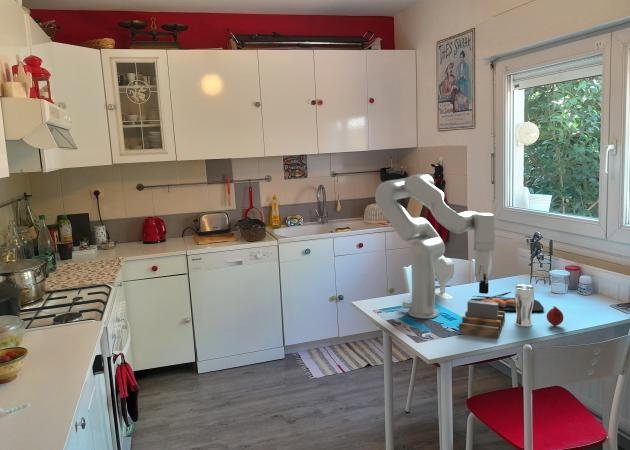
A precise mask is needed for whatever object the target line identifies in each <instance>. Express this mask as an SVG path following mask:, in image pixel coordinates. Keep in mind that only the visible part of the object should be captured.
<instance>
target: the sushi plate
mask: <svg viewBox="0 0 630 450" xmlns="http://www.w3.org/2000/svg"><path fill="white" fill-rule="evenodd" d="M510 293H512V291H509V292H503V293H501V294H496V295H493V296H484V295H475V296H476V297H475V298H471V299H469V300H475V301H485V302H495V303H498V311H515V312H516V307H515V297H504V296H505V294H506V295H508V294H510ZM501 296H503V297H501ZM483 297H484V298H483ZM544 310H545V307H544V306H543V304H541V302H540V301H538V300H537V299H534V303H533V308H532V312H542V311H544Z"/></svg>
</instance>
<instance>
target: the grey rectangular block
mask: <svg viewBox="0 0 630 450" xmlns="http://www.w3.org/2000/svg"><path fill="white" fill-rule="evenodd" d="M466 307H467V308H466V309H467V310H466V311H467V317H475V318H483V319H492V320H498V311H499V310H498V303H495V302H485V301H475V300H470V299H468V300H467V306H466Z"/></svg>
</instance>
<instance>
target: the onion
mask: <svg viewBox="0 0 630 450" xmlns="http://www.w3.org/2000/svg"><path fill="white" fill-rule="evenodd" d="M546 319H547V322H548V323H549V324H551V325H552V326H553V327H556V326H559V325H560V324H562V323H563V321H564V314H563V312H562V311H561V310H560V309H559V308H558V307H557V306H556V305H553V307H552V308H551V309H549V310H548V312H547V313H546Z"/></svg>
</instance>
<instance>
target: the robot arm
mask: <svg viewBox="0 0 630 450" xmlns="http://www.w3.org/2000/svg"><path fill="white" fill-rule="evenodd" d="M434 180H435V179H433V177H432V176H431V175H430V174H428V173H417V174H412V175H409V176H408V177H404V178H398V179H390V180H385V181H383V182H382V183H380V184H379V185H378V186H377V188H376V190H375V194H374V195H375V197H374V199H375V204H376V206H377V208H378V209H379V210H380V212H381V213H382V214H383V216H384V217H385V218H386V219H387V221H388V222H389V223H390V225H391V226H392V228H393V229H394V231H395V232H396V235H397V234H398V236H399V238H400V239H401V240H402V241H403V242H407V243H409V242H413V241H415V242H414V243H412V244H411V246H410V247H409V253H408V254H409V259H410V267H411V301H409V302H407V301H402V304H401V305H402V307H403V308H404V309H408V311H407V314H408V315H409V316H410V317H412V318H416V319H424V320H425V319H435V318H438V316H439V315H440V312H439V309H437V308H436V294H435V291H436V277H435V269H434V266H433V262H432V261H433V260H435V259H438V258H440V257H441V256H442V255H443V256H444V254H445V251H446V246H445V242H444V241H443V238H441V236H440V234H439V233H438V232H437V231H436V229H435V228H434V227H433V225H432V224H431V223H430V222H429V221H428V220H427V219H426V218H425V217H422V216H414V217H412V216H411V214H410V213H408V211H407V210H406V208H405V207H404V206H402V204H400V203H399V202H397V200H401V199H406V198H410V197H412V198H414V199H415V200H416V201H418V202H419V203H421V204H422V205H423V206H425V207H426V208H427V209H429V211H430V212H431V215H432V216H433V217H434V219H435V220H436V222H437V223H439V224H440V225H441V226H442V227H444V228H445V229H447V230H448V231H450V232H452V233H454V234H463V233H465V232H468V231H469V232H470V231H473V251H475V258H474V277H478V279H479V280H478V281H479V282H478V293H479V294H483V295H485V294H486V295H488V294H489V276H490V275H491V272H492V263H493V262H492V252H493V251H495V249H496V246H495V245H496V242H495V238H496V237H495V236H496V235H495V234H496V217H495V216H496V215H494V214H493V213H490V212H477V211H473V210H465V211H461V212H459V213H458V212H456V211H455V210H453V209H452V208H450V207H449V205H447V204H446V202H445V201H444V200H445V193H444V192H443V191H442V190H441V189H439V188H438V187H436V186H435V181H434Z"/></svg>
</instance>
